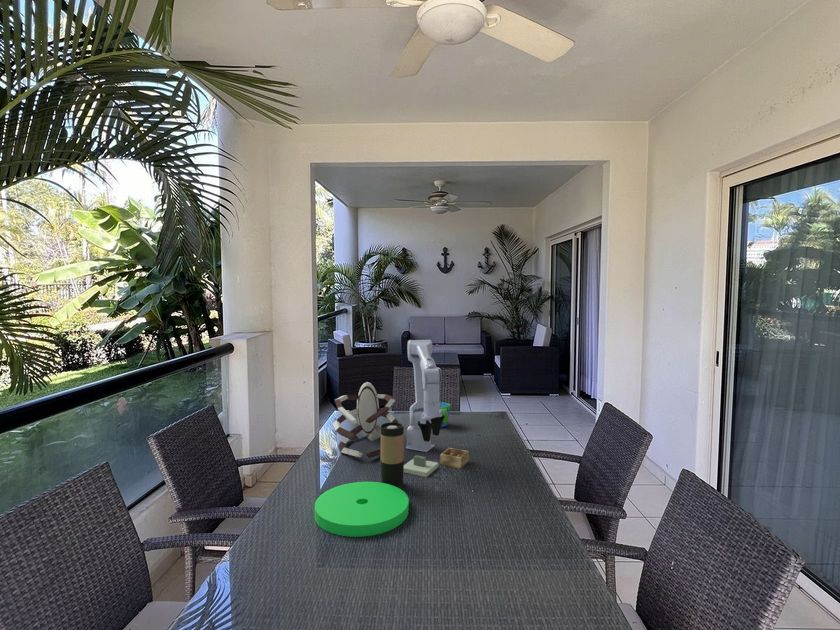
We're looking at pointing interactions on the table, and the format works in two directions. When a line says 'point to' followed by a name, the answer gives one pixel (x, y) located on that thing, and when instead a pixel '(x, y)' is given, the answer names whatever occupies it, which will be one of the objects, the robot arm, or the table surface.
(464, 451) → the box
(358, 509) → the disc
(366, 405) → the decorative sculpture
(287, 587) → the table surface
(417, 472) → the lid
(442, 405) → the snack cup
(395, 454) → the travel mug
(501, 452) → the table surface
